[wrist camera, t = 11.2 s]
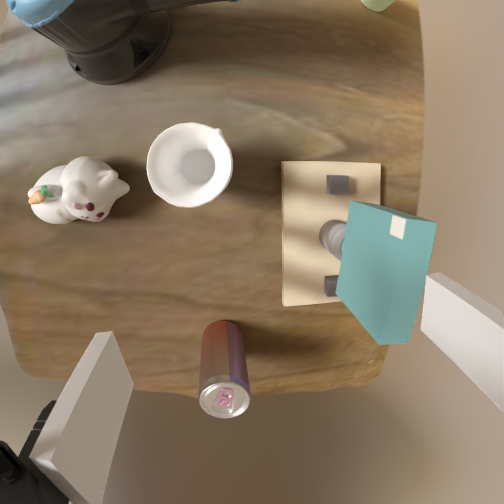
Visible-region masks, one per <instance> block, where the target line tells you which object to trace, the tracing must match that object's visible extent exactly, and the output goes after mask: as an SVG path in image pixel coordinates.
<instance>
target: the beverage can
mask: <svg viewBox="0 0 504 504" xmlns="http://www.w3.org/2000/svg"><path fill="white" fill-rule="evenodd" d="M250 396H251V392H250V385H249V379H248V372H247V364H246V357H245V350H244V343H243V336H242V332H241V330H240V329H239V328H238V326H236V325H235V324H233V323H231V322H228V321H217V322H214V323H212V324H210V325H209V326H208V327H207V328H206V329H205V330H204V333H203V338H202V350H201V362H200V375H199V389H198V397H199V400H200V405H201V407H202V408H203V410H204V411H206V412H207V413H208V414H210V415H212V416H215V417H219V418H231V417H235V416H238V415H240V414H241V413H243V412H244V411H245V410H246V409H247V407H248V406H249V403H250Z"/></svg>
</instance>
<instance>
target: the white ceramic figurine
mask: <svg viewBox="0 0 504 504" xmlns="http://www.w3.org/2000/svg"><path fill="white" fill-rule="evenodd" d="M129 190H130V186H129V185H128V184H127V183H126V182H124V181H122V180H120V179H118V173H117V172H116V171H114V170H113V169H112V168H111V167H110V166H109V165H107V164H106V163H104V162H102V161H100V160H98V159H95V158H92V157H86V156H83V157H78V158H76V159H74V160H72V161H71V162H70V163H69V164H68V165H62V166H58V167H56V168H53V169H51V170H50V171H48V172H47V173H45V174H44V175H43V176H42V177H41V178H40V179H39V180H38V181H37V183H36V184H35V186H34V188H32V189H30V190H29V192H28V196H29V198H30V199H29V201H28V202H29V204H31V207H32V210H33V212H34V213H35V214H36V215H37V216H38V217H39V218H40V219H42V220H43V221H46V222H48V223H53V224H63V223H64V224H67V223H69V222H71V221H73V220H76V219H79V218H80V219H83V220H89V221H93V222H100V221H102V220H103V219H104V218H105V217H106V216H107V215H108V214H109V211H110V209H111V207H112V205H113V203H114V202H115V200H116V199H118V198H119V197H121V196H123V195H124V194H126V193H127V192H128V191H129Z"/></svg>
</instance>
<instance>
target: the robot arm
mask: <svg viewBox="0 0 504 504" xmlns="http://www.w3.org/2000/svg"><path fill="white" fill-rule="evenodd" d="M6 1H7V5H8V8H9V9H10V11H11V12H12V13H13V14H14V15H16V16H17V17H18V18H19V19H21V21H22V23H23V24H24V25H26V26H27V27H30V28H32V29H33V30H35V31H37V32H38V33H40V34H41V35H43V36H45V37H46V38H48V39H50V40H51V41H53V42H54V43H56V44H58V45H59V46H61V47H62V48H64V50H65V53H66V56H67V59H68V61H69V64H70V65H71V67H72V68H73V70H74V71H75V72H76V73H77V74H79V75H80V76H81V77H83V78H85V79H87V80H88V81H91V82H93V83H97V84H104V85H109V84H117V83H121V82H125V81H127V80H130V79H132V78H134V77H136V76H138V75H140V74H141V73H143V72H144V71H146V70H147V69H148V68H149V67H150V66H151V65H153V64H154V63H155V61H156V60H157V59H158V58H159V57H160V55H161V54H162V52H163V51H164V49H165V47H166V45H167V43H168V40H169V36H170V30H171V25H170V19H169V16H168V13H167V10H168V9H173V8H179V7H184V6H190V5H197V4H204V3H212V2H220V1H230V2H239V1H241V0H6ZM421 330H422V331H423V332H424V333H425V334H426V335H427V336H428V337H429V338H430V339H431V340H432V341H433V342H434V343H435V344H436V345H437V346H438V347H439V348H440V349H441V350H442V351H443V352H444V353H445V354H446V355H447V356H448V357H449V358H451V360H452V361H453V362H455V363H456V365H458V367H459V368H461V370H462V371H463V372H464V373H465V374H466V375H467V376H468V377H469V378H471V380H472V381H473V382H474V383H475V384H476V385H477V386H478V387H479V388H480V389H481V390H482V391H483V392H484V393H485V394H486V395H487V396H488V397H489V398H490V400H491V401H492V402H493V403H494V404H495V405H496V406H497V407H498V408H499V409H500V410H501V411H502V412H503V414H504V313H503V312H501V311H500V310H498V309H497V308H495V307H494V306H492V305H491V304H489V303H488V302H486V301H484V300H483V299H481V298H480V297H478V296H477V295H475V294H474V293H472V292H471V291H469V290H467V289H466V288H464V287H463V286H461V285H459V284H458V283H456V282H455V281H453V280H452V279H450V278H448V277H447V276H445V275H443V274H442V273H440V272H437V273H433V274H429V275H426V283H425V295H424V305H423V315H422V323H421ZM133 386H134V383H133V381H132V378H131V376H130V374H129V371H128V369H127V367H126V364H125V362H124V359H123V357H122V354H121V352H120V349H119V347H118V344H117V342H116V339H115V336H114V334H113V331H111V332H101V333H96V334H95V336H94V338H93V339H92V341H91V343H90V344H89V346H88V347H87V349H86V351H85V353H84V354H83V356H82V358H81V359H80V361H79V363H78V364H77V366H76V368H75V370H74V371H73V373H72V375H71V377H70V378H69V380H68V382H67V384H66V386H65V387H64V389H63V391H62V393H61V395H60V397H59V398H58V400H57V401H51V402H50V403H49V404H48V405H47V406H46V407H45V408H44V409H43V410H42V412H41V414H40V416H39V418H38V419H37V422H36V423H35V425H34V427H33V430H32V431H31V432H30V435H29V436H28V438H27V440H26V442H25V444H24V446H23V448H22V450H21V452H20V454H19V456H18V457H17V456H16V454H15V453H14V452H13V451H12V449H11V448H10V447H9V446H8V444H7V443H5V442H3V441H0V504H68V502H69V500H70V501H71V502H72V503H73V504H101V503H102V499H103V495H104V491H105V486H106V482H107V478H108V474H109V470H110V466H111V462H112V459H113V455H114V451H115V447H116V444H117V440H118V436H119V433H120V429H121V426H122V422H123V419H124V416H125V412H126V408H127V405H128V402H129V399H130V396H131V392H132V389H133Z"/></svg>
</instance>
